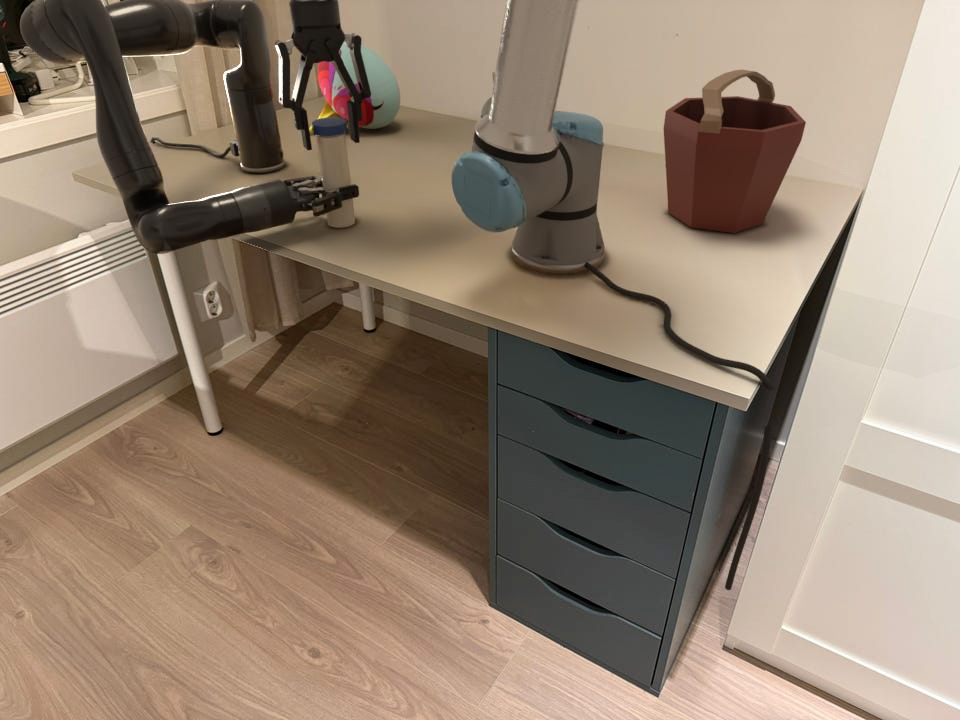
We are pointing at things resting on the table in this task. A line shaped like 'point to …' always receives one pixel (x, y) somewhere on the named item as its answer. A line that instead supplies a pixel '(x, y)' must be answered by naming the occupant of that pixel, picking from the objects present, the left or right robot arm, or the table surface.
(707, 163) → the bucket
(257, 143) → the left robot arm
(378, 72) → the toy
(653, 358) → the table surface
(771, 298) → the table surface
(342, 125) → the lid
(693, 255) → the table surface
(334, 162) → the jar
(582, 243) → the right robot arm
